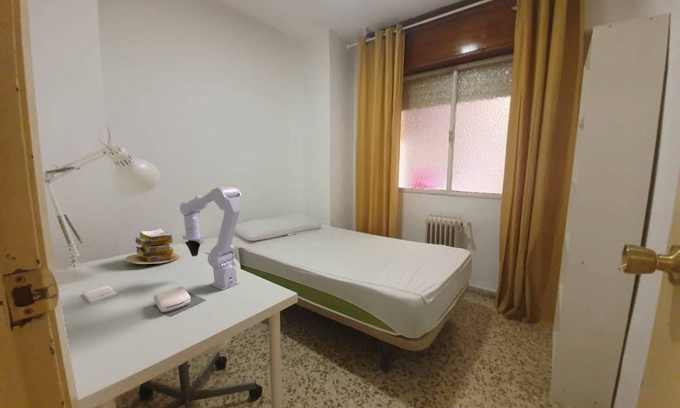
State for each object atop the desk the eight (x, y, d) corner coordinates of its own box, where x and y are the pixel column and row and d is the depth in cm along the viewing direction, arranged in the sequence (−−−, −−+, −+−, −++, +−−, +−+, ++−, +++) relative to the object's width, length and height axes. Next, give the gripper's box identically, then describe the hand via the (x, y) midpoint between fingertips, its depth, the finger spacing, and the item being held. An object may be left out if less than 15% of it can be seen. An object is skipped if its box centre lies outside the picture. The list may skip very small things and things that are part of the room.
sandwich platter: (176, 250, 164) (173, 224, 162) (183, 261, 145) (180, 232, 143) (125, 259, 149) (121, 231, 146) (126, 273, 130) (121, 240, 127)
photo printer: (183, 284, 106) (192, 294, 98) (184, 294, 107) (193, 305, 98) (152, 293, 99) (159, 305, 91) (153, 303, 100) (160, 316, 91)
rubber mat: (206, 300, 102) (206, 299, 102) (170, 316, 91) (170, 316, 91) (188, 292, 109) (188, 291, 109) (153, 306, 98) (153, 305, 98)
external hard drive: (108, 288, 114) (118, 296, 107) (82, 296, 108) (91, 305, 101) (108, 285, 114) (117, 292, 107) (82, 292, 107) (90, 301, 100)
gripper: (209, 227, 121) (211, 255, 123) (192, 224, 128) (194, 250, 130) (194, 230, 115) (196, 260, 117) (177, 227, 122) (179, 254, 124)
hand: (194, 255), depth 123 cm, fingers closed
